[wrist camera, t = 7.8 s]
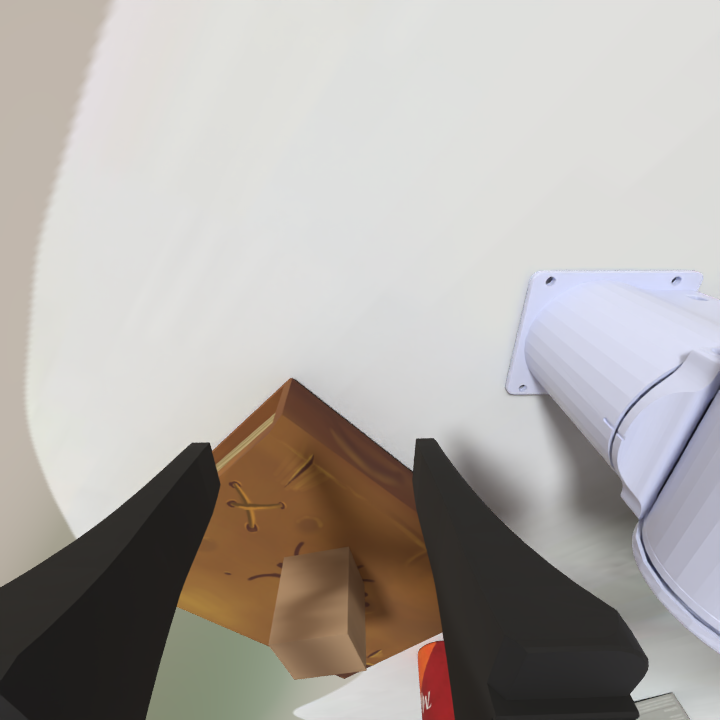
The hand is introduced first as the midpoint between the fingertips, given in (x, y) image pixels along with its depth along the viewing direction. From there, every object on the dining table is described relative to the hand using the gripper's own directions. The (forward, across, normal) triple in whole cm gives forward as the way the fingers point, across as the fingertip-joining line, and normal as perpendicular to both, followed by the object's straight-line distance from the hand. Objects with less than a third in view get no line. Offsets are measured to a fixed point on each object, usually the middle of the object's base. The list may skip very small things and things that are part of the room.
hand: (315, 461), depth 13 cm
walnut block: (+6, +1, +16) cm, 17 cm away
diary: (+11, +1, +18) cm, 21 cm away
